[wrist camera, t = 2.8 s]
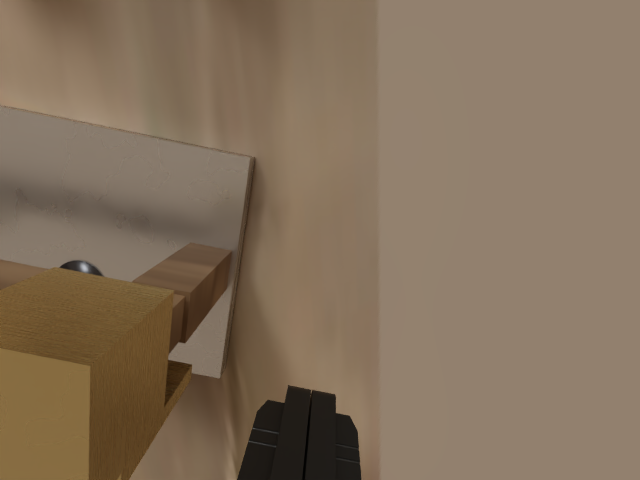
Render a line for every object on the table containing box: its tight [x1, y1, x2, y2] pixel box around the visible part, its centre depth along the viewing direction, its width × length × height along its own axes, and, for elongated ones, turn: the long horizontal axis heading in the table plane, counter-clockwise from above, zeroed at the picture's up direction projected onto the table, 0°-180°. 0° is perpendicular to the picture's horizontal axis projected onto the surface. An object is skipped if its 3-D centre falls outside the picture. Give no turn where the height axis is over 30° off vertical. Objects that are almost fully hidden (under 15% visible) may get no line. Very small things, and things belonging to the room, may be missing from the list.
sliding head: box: [0, 267, 192, 480], centre depth 14 cm, size 6×4×12 cm
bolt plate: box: [0, 105, 255, 378], centre depth 20 cm, size 14×28×1 cm, turn 79°
